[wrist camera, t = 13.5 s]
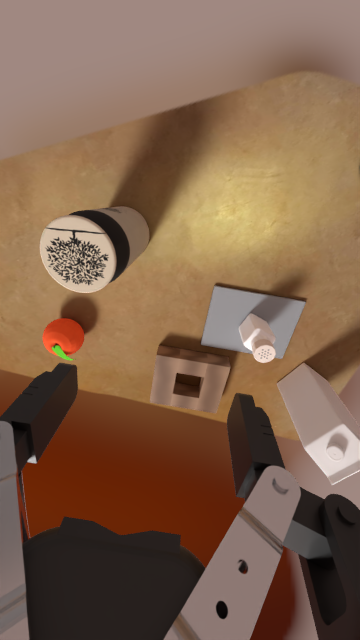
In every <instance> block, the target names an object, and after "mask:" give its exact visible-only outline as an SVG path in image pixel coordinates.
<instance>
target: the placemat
mask: <svg viewBox="0 0 360 640" xmlns="http://www.w3.org/2000/svg"><path fill="white" fill-rule="evenodd" d="M305 303H306V302H305V301H301V300H296V299H290V298H284V297H279V296H273V295H267V294H261V293H256V292H250V291H244V290H239V289H233V288H227V287H221V286H216V285H214V289H213V293H212V298H211V302H210V306H209V310H208V315H207V319H206V323H205V327H204V332H203V336H202V340H201V345H204V346H210V347H216V348H222V349H228V350H234V351H239V352H245V353H251V354H253V352H252V351H251V350H249V349H248V348H246V347H245V346H244V344H243V342H242V339H241V335H240V332H239V326H240V325H241V324H242V323H243V321H244V320H245V319H246V318H247V316H248V315H249V314H250V313H251V314H254V315H256V316H258V317H259V318H261V319H263V320H265V321H266V322H267V323H268V325H269V327H270V329H271V330H272V332H273V334H274V336H275V338H276V339H275V342H274V343H273V346H274V348H275V351H276V355H275V358H280V359H282V358H283V355H284V353H285V350H286V348H287V346H288V343H289V341H290V339H291V336H292V334H293V331H294V329H295V327H296V324H297V322H298V320H299V317H300V315H301V313H302V310H303V308H304V305H305Z"/></svg>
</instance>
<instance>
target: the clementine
mask: <svg viewBox="0 0 360 640" xmlns="http://www.w3.org/2000/svg"><path fill="white" fill-rule="evenodd" d="M83 341H84V332H83V329H82V327H81V326H80V325H79V324H78V323H77V322H75V321H74V320H71V319H67V318H62V319H57V320H54V321H53V322H51V323H50V324H48V326H47V327H46V328H45V330H44V333H43V342H44V345H45V347H46V349H47V350H48V351H49V352H51V353H52V354H55V355H58V356H60V357H61V358H64V359H66V360H74V359H70V358H69V357H68V355H71V354H73V353H75V352H76V351H78V350H79V349H80V347H81V346H82V344H83Z"/></svg>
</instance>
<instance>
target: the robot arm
mask: <svg viewBox="0 0 360 640" xmlns="http://www.w3.org/2000/svg"><path fill="white" fill-rule="evenodd" d="M77 390H78V384H77V367H76V365H71V364H65V363H59V364H58V365H57V366H56V367H55V368H54V370H53V371H52V372H47V371H46V372H44V373H43V374H41V375H39V376H37V377H36V378H35V379H34V380H33V381H32V382H31V383H30V384H29V386H28V387H27V388H26V389H25V390H24V391H23V392H22V394H21V395H20V396H19V397H18V398H17V399H16V400H15V401H14V402H13V403H12V405H11V406H10V407H9V408H8V409H7V410H6V411H5V412H4V413H3V415H2V416H1V417H0V640H250V637H251V634H252V632H253V629H254V626H255V624H256V621H257V619H258V616H259V613H260V611H261V608H262V605H263V602H264V600H265V597H266V595H267V592H268V589H269V586H270V584H271V581H272V578H273V576H274V573H275V571H276V568H277V565H278V563H279V560H280V557H281V554H282V551H283V547H282V545H284V546H286V547H287V548H289V549H291V550H292V551H294V552H296V553H298V555H299V559H300V563H301V567H302V572H303V576H304V580H305V584H306V588H307V593H308V597H309V601H310V605H311V609H312V614H313V618H314V622H315V626H316V630H317V634H318V638H319V640H360V510H359V509H358V508H357V507H356V505H354V504H353V503H352V502H351V501H350V500H348V499H346V498H345V497H343V496H341V495H337V494H330V495H328V496H327V497H326V498H325V499H322V498H321V497H319V496H317V495H315V494H312V493H310V492H308V491H306V490H305V489H303V488H301V487H300V486H299V484H298V482H297V481H296V479H295V478H294V477H293V476H292V475H291V473H289V472H288V471H287V470H286V469H285V466H284V463H283V460H282V458H281V454H280V451H279V448H278V445H277V442H276V439H275V437H274V433H273V430H272V428H271V427H272V426H271V423H270V420H269V417H268V416H267V414H266V413H265V412H264V411H263V409H262V408H259V407H255V403H254V400H253V397H252V395H247V394H241V393H236V394H235V397H234V399H233V402H232V405H231V408H230V411H229V414H228V419H227V429H228V436H229V445H230V453H231V460H232V468H233V476H234V483H235V491H236V497H242V498H245V504H244V506H243V508H242V509H241V510H240V511H239V513H238V515H237V517H236V518H235V520H234V521H233V523H232V525H231V527H230V528H229V530H228V532H227V533H226V535H225V537H224V539H223V540H222V542H221V544H220V545H219V547H218V549H217V550H216V552H215V554H214V556H213V557H212V559H211V561H210V563H209V564H208V566H207V568H206V569H205V567H204V566H203V564H202V563H201V562H200V561H199V559H198V558H196V556H195V555H194V554H192V553H191V552H190V551H189V550H187V549H186V548H185V547H183V546H181V545H180V535H177V534H170V533H164V532H158V531H147V532H140V533H135V534H128V535H118V534H116V533H114V532H112V531H110V530H108V529H107V528H105V527H103V526H101V525H99V524H97V523H95V522H93V521H88V520H82V519H76V518H69V517H64V518H63V521H62V523H61V525H60V527H55V528H52V529H48V530H46V531H43V532H41V533H39V534H37V535H35V536H34V537H32V538H30V535H29V528H28V522H27V515H26V506H25V497H24V488H23V479H22V472H21V471H22V469H23V467H24V466H25V464H26V463H27V462H31V463H37V462H38V460H39V459H40V457H41V455H42V454H43V452H44V450H45V449H46V447H47V445H48V444H49V442H50V440H51V439H52V437H53V435H54V434H55V432H56V431H57V429H58V427H59V425H60V424H61V422H62V421H63V419H64V417H65V416H66V414H67V412H68V411H69V409H70V407H71V406H72V404H73V402H74V401H75V398H76V395H77Z"/></svg>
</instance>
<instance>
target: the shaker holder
mask: <svg viewBox="0 0 360 640" xmlns="http://www.w3.org/2000/svg"><path fill="white" fill-rule="evenodd" d="M230 368H231V367H230V362H229V357H227V356H221V355H215V354H209V353H203V352H198V351H192V350H186V349H180V348H174V347H168V346H162V345H159V347H158V351H157V355H156V362H155V369H154V376H153V383H152V390H151V397H150V402H151V403H157V404H163V405H169V406H175V407H181V408H187V409H193V410H199V411H205V412H211V413H216V412H217V409H218V406H219V403H220V400H221V397H222V393H223V390H224V387H225V384H226V381H227V377H228V374H229V371H230ZM177 373H181V374H187V375H193V376H199V377H201V380H200V384H199V386H193V385H187V384H181V383H175V379H176V374H177Z"/></svg>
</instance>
